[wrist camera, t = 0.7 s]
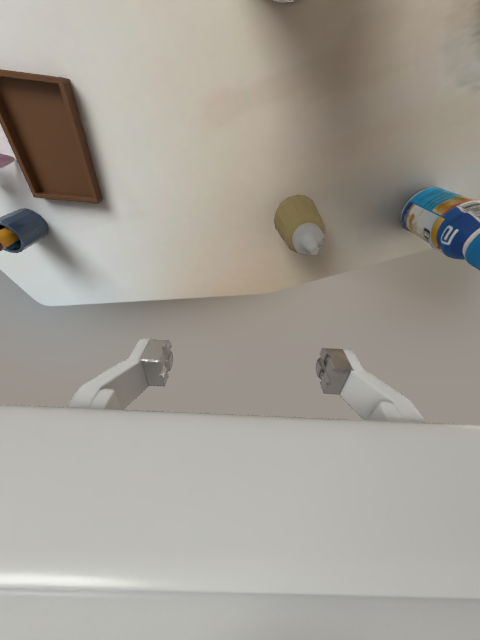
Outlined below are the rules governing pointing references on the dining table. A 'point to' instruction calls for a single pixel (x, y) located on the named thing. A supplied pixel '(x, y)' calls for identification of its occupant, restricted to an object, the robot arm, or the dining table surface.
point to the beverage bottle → (445, 223)
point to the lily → (5, 160)
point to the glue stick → (7, 238)
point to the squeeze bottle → (300, 225)
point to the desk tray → (47, 136)
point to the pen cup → (24, 228)
